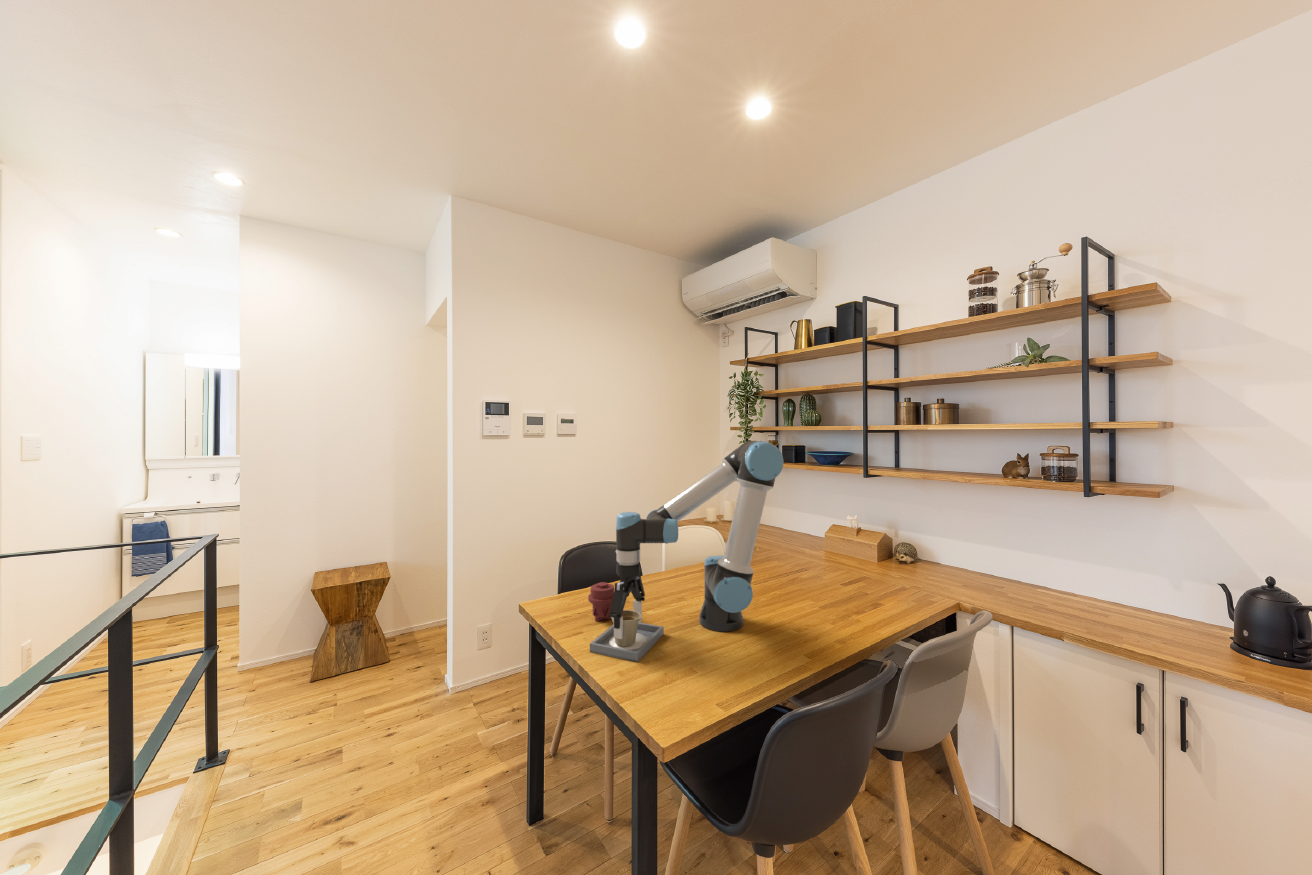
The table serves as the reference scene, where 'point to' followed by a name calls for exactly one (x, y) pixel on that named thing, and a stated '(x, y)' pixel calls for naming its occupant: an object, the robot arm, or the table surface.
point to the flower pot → (628, 628)
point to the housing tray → (643, 642)
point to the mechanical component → (601, 600)
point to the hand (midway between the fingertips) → (628, 629)
